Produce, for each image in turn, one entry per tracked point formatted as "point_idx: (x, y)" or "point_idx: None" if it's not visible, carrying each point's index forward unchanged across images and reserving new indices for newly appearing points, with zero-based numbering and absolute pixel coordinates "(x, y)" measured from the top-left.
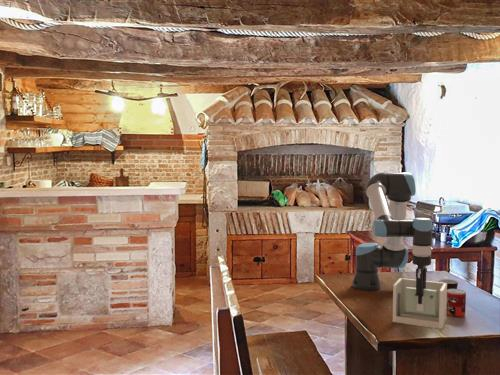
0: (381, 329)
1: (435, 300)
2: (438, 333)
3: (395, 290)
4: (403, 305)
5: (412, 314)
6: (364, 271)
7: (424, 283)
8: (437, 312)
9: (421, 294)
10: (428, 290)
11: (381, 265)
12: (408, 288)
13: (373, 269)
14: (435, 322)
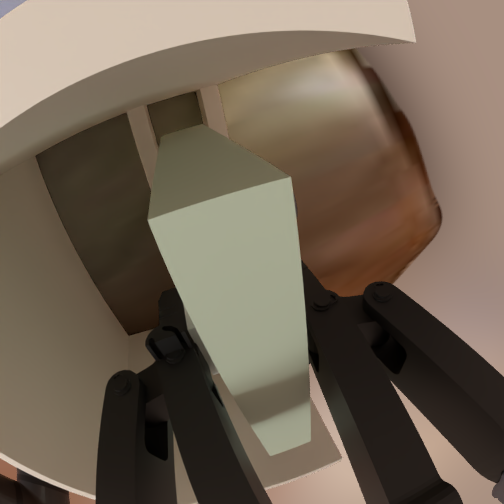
0: (363, 278)
1: (223, 140)
2: (293, 65)
3: (327, 431)
4: (123, 364)
5: (103, 302)
6: (59, 490)
7: (249, 479)
8: (29, 198)
9: (397, 296)
10: (304, 318)
11: (17, 488)
12: (309, 433)
13: (37, 487)
14: (221, 107)
